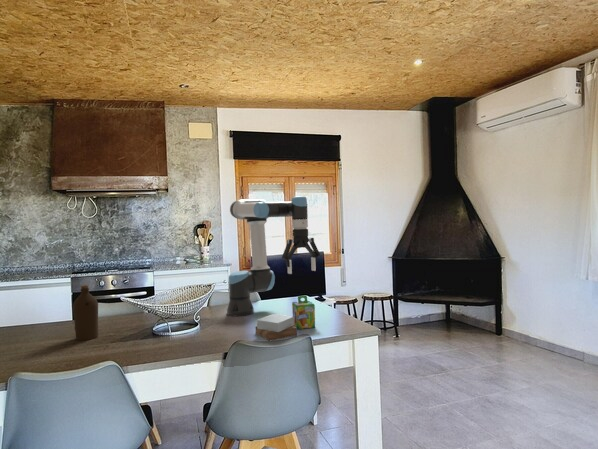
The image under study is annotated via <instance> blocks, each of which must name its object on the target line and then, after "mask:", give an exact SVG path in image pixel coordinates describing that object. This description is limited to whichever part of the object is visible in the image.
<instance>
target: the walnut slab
mask: <svg viewBox="0 0 598 449" xmlns="http://www.w3.org/2000/svg"><path fill="white" fill-rule="evenodd" d="M254 327H255V334H256V335H258V336H259V337H261V338H263V339H265V340H267V341H268V340H269V341H268V342H271V341H270V340H272V341H276V340H279V339H284V338H289V337H293V336H297V335H298V329H297V328H296V327H295V326H294V325H293V326H291V327H289V328H287V329H284V330H282V331H280V332H275V331H269V330H263V329H257V325H256V326H254Z"/></svg>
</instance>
